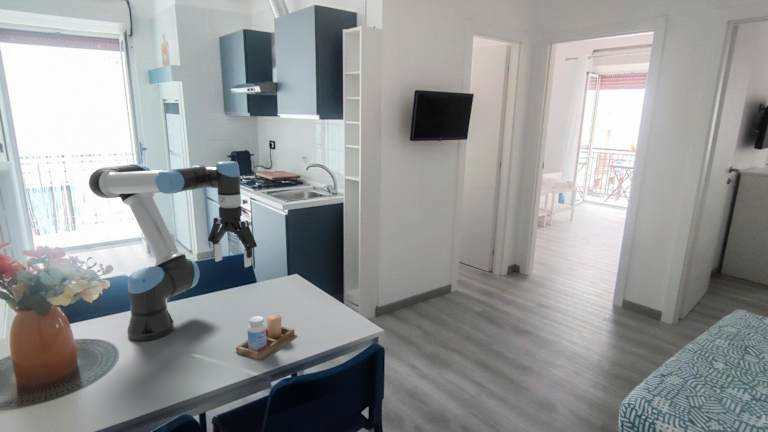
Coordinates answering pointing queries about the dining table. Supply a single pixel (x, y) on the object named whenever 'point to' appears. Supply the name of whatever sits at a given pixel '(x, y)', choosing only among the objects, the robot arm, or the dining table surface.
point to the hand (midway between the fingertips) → (233, 263)
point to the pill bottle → (257, 334)
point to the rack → (271, 345)
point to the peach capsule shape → (274, 326)
